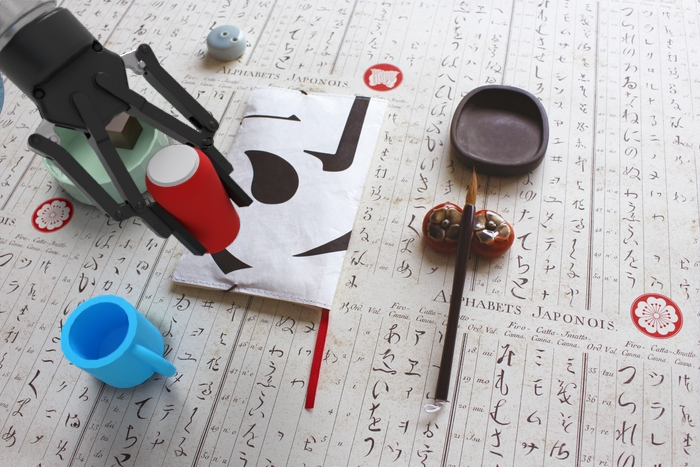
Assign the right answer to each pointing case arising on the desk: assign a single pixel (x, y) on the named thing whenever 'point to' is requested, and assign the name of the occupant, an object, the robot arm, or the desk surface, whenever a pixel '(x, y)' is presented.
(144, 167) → the bowl
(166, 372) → the mug
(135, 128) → the block
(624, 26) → the desk surface
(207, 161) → the beverage can
